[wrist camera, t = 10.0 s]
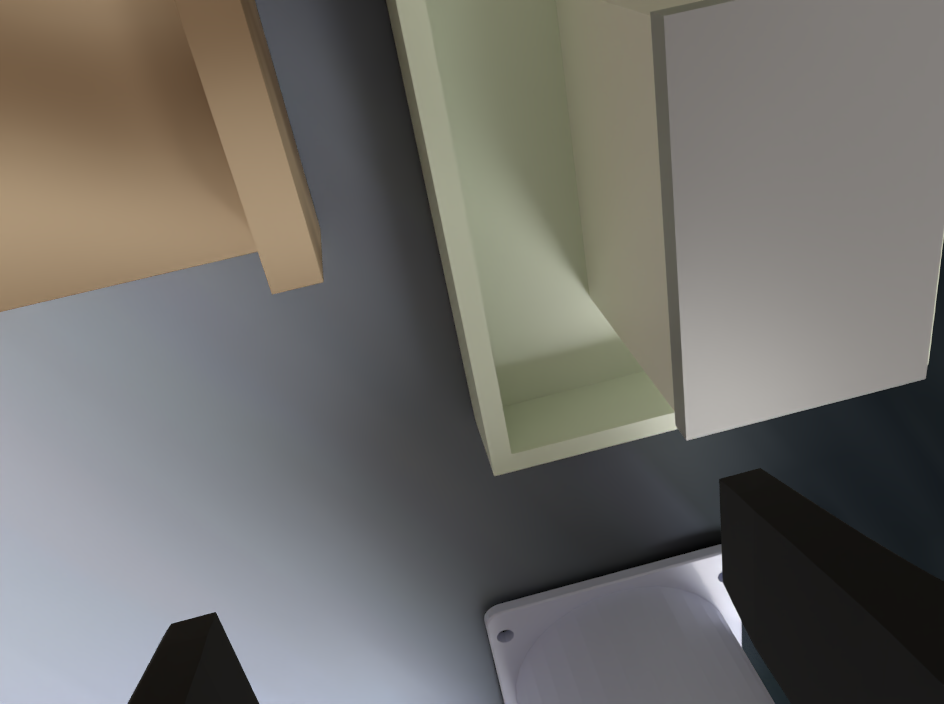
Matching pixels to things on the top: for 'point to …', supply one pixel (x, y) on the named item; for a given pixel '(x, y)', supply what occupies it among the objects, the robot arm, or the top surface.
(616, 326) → the grey box
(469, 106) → the tray
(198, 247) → the dock
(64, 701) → the top surface
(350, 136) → the top surface
